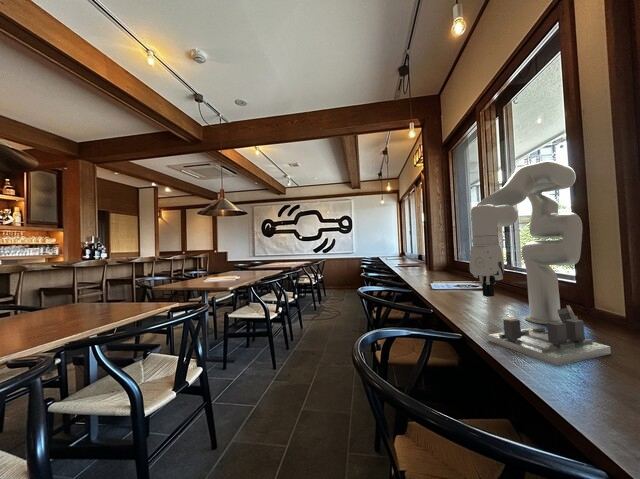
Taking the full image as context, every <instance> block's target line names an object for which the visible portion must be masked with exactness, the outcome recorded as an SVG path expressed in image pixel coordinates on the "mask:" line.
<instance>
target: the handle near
mask: <svg viewBox="0 0 640 479" xmlns="http://www.w3.org/2000/svg"><path fill="white" fill-rule="evenodd" d="M565 324H566V332H567V339H569V340H573V341H579V340H584V339H586V338H585V322H584V320H582V319H578V320H577V319H569V320H565Z"/></svg>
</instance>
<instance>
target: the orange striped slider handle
mask: <svg viewBox="0 0 640 479" xmlns="http://www.w3.org/2000/svg"><path fill="white" fill-rule="evenodd" d="M502 321H503V332H504V335H505V337H506V338H509V339H512V340H513V339H519V338H521V329H522V328H521V320H520V319H517V318H516V317H514V318H513V317H511V318H505V319H503V320H502Z"/></svg>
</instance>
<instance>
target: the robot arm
mask: <svg viewBox="0 0 640 479" xmlns="http://www.w3.org/2000/svg"><path fill="white" fill-rule="evenodd" d="M576 177H577V176H576V172H575V171H574V168H572V167H570V166H569V165H566V164H565V163H562V162H558V161H555V160H545V161H544V160H543V161H540V162H536V163H531V164H529V165H528V164H527V165H525V166H524V165H523V166H522V167H519V168H518V169H516V170H515V171H514V173H513V174H512V175H511V176H510V177H509V179H508V180H507V182H506V183H505V184H504V185H503V187H501V188H499V189H498V190H496V191H494V192H493V193H490V194H489V195H488V196H486V197H484V198H483V199H482V200H481V201H479V202H478V204H477V205H475V206H473V207H472V208H471V209H470V221H471V237H472V239H471V243H472V246H470V250H469V251H470V252H469V272H470V274H472V276H473V277H474V278H476V279H478V280H479V283H480V285H481V288H482V296H483V297H487V298H491V297H494V296H495V285H496V282H498V281H500V280H503V279H504V276H503V275H504V273H505V264H504V256H503V251H502V248H501V245H499V244H500V243H499V230H498V228H504V227H509V226H511V225H514V224H515V223H516V222H517V221H518V218H519V217H518V216H519V214H518V211H517V209H516V208H515V207H514V206H516V205H518V204H520V203H522V202H523V201H525V200H526V199H528V200H529V202H530V204H531V212H530V219H529V220H530V221H529V222H530V223H529V234H530V236H531V237H532V238H535V239H542V240H533V241H529V242H526V243H525V244H524V245H523V246H522V248H521V256H522V258H523V261H524V266H525V270H526V272H525V273H526V280H527V281H526V282H527V294H528V306H529V309H528V310H529V314H527V315H525V320H526V321H528V322H530V323H534V324H538V325H547V323H550V322H560V323H562V321H561V319H560V317H559V314H558V309H561V302H560V301H561V300H560V292H559V278H558V274H557V273H556V271H555V270H554V269H553V268H552V267H551V266H573V265H576V264H578V263H579V261H580V259H581V253H582V242H583V222H582V219H581V217H580V216H579V215H578V214H577V213H575V212H561V213H559V203H558V201H557V200H556V199H555V198H554V197H553V196H551V195H550V194H548V192H555V191H559V190H560V191H561V190H564V189H565V190H566V189H568V188H571V187H572V186H573V185H574V184H575V182H576ZM543 239H545V240H543ZM546 239H547V240H546ZM551 239H553V240H551ZM554 239H555V240H554Z"/></svg>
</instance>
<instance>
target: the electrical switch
mask: <svg viewBox="0 0 640 479" xmlns="http://www.w3.org/2000/svg"><path fill="white" fill-rule="evenodd" d="M558 314H559V317H560V319H561V321H562V323H565V320H569V319H577V320H579V318H578V315H577V316H576V315H575V313H574V311H573V308H572V307H571V305H569V304H568V305H566V308H565V307H564V308H560V309H558Z"/></svg>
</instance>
